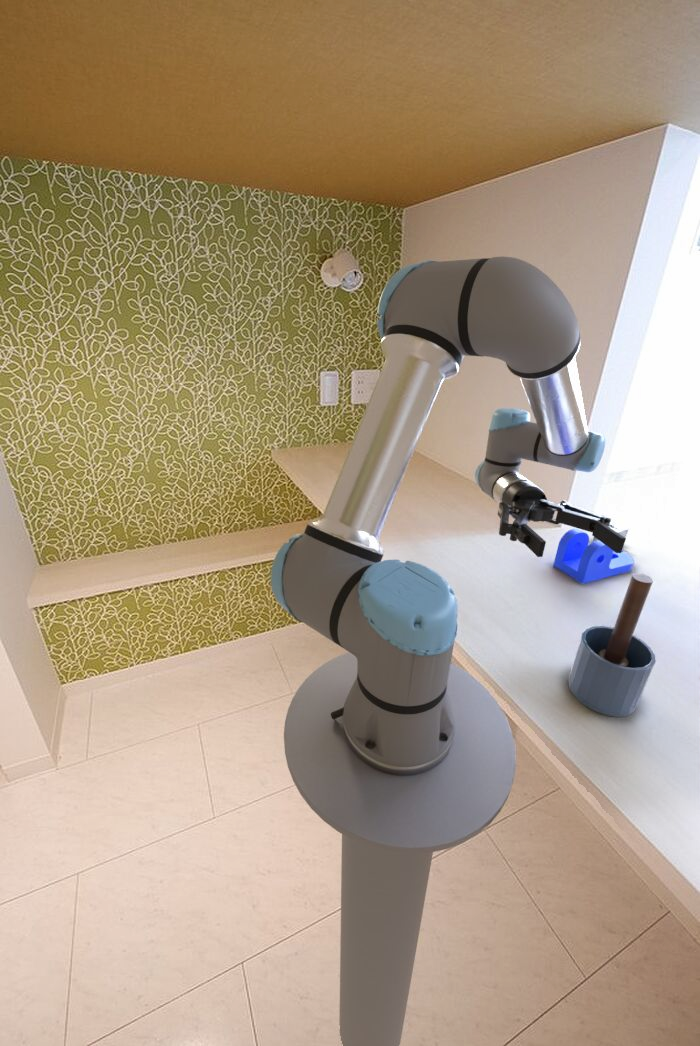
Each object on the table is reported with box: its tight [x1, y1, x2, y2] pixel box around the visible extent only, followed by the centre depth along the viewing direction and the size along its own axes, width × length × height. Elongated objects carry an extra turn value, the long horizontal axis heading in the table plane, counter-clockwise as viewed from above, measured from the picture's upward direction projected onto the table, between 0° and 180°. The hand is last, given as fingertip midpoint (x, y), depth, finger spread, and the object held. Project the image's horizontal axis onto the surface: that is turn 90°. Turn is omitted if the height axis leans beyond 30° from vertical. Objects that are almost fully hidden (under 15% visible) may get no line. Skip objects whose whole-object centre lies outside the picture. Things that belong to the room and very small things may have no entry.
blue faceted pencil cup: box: [567, 625, 657, 718], centre depth 65 cm, size 9×9×9 cm
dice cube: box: [592, 521, 629, 542], centre depth 110 cm, size 5×5×5 cm
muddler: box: [598, 572, 654, 667], centre depth 63 cm, size 4×4×20 cm
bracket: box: [553, 528, 635, 585], centre depth 99 cm, size 18×8×9 cm, turn 112°
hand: (582, 547), depth 69 cm, fingers open, 13 cm apart
